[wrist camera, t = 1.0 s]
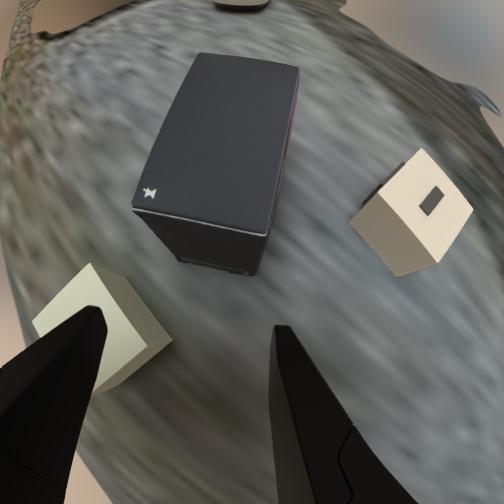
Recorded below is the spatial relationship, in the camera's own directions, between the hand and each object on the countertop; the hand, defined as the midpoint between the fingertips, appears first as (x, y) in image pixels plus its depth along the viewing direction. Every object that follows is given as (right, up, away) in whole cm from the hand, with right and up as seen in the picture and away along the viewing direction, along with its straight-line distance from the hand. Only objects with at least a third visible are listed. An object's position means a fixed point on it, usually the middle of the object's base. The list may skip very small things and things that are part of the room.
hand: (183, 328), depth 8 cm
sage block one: (-8, -4, +13) cm, 16 cm away
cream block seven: (+14, +4, +15) cm, 21 cm away
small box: (0, +6, +15) cm, 17 cm away
